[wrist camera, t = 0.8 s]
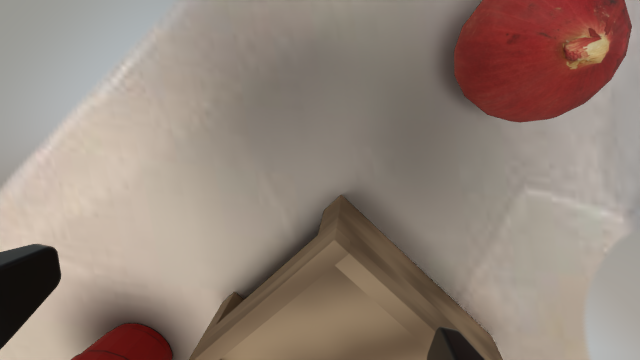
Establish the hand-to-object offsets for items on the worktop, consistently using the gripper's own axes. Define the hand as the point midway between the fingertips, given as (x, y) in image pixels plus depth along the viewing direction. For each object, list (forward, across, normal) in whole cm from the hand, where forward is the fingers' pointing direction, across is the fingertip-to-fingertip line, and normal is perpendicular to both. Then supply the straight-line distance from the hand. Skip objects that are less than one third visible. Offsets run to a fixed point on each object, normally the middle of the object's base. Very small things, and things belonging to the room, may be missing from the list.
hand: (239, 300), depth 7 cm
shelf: (+13, -4, +12) cm, 18 cm away
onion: (+14, -9, -7) cm, 17 cm away
